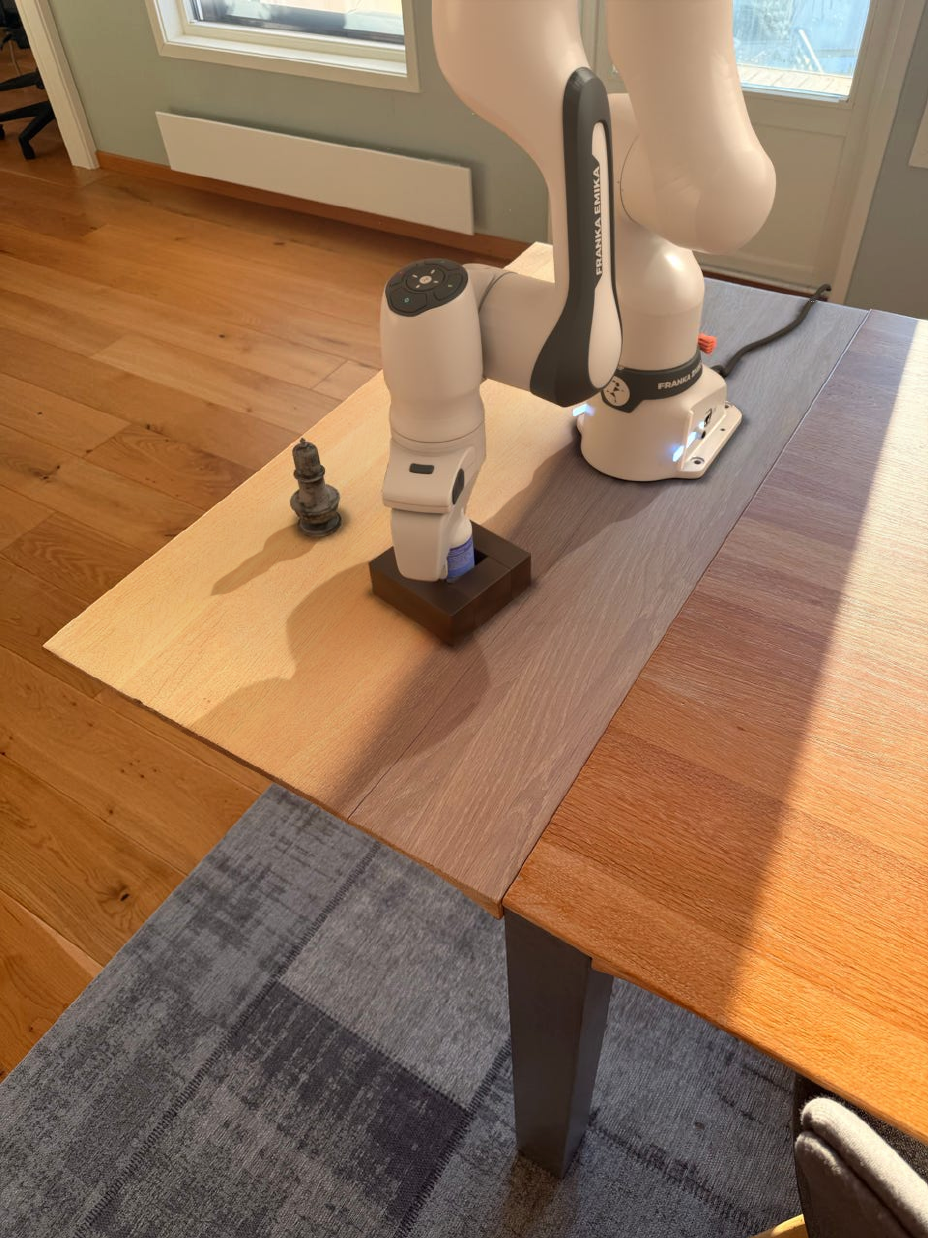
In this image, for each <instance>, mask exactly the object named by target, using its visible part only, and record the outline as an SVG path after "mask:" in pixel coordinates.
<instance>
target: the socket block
mask: <svg viewBox="0 0 928 1238" xmlns="http://www.w3.org/2000/svg"><path fill="white" fill-rule="evenodd" d="M468 519H469V520H470V522H471V526H472V538H473V552H474V566H475V567H474V568H472V569H471V570H470V571H468V572H467V573H466V574H464V575H463V576H462V577H460V578H459V579H458V580H456V581H455V582H454V583H452V584H451V585H449V584H447V583H446V582H444V581H443V580H441V579H438V580H437V581H422V580H415V579H409V578H406V577H404V576H403V575H402V574H401V573H400V571H399V569H398V565H397V560H396V556H395V551H394V546H393V545H392V546H391V547H389V548H387V549H386V550H385V551H383V552H381V553H380V554H379V555H378V556H376V557H375V558H373V559H372V560H370V561H368V562H367V564H368V570H369V577H370V582H371V588H372V593H373V594H374V595H375V596H376V597H378V598H380V599H381V600H382V601H384V602H385V603H387V604H388V605H390V606H391V607H393V608H394V609H396V611H397V610H398V611H399V612H401V613H402V614H404V616H407V617H408V618H409V619H410V620H412V621H414V622H415V623H417V624H418V625H420V626H421V627H423V628H424V629H426V630H427V631H429V632H430V633H432V634H433V635H435V636H436V637H438V638H439V639H441V640H442V641H444V642H445V643H447V644H448V645H450V646H451V647H453V648H454V647H456V646H457V645H458V644H459V643H460V642H461V641H463V640H464V639H465V638H467V637H468V636H469V635H470V634H472V633H473V632H474V631H475V630H476V629H478V628H479V627H480V626H481V625H482V624H484V623H486V621H487V620H489V619H490V618H491V617H493V616H494V615H495V614H496V613H498V612H499V611H500V610H502V609H503V608H504V607H506V605H508V604H509V603H510V602H511V601H512V600H514V599H515V598H517V597H518V596H519V595H520V594H521V593H523V592H524V591H525V590H526V589H527V588H528V587H530V586H531V585H532V553H530V552H529V551H527V550H525V549H523V548H522V547H520V546H518V545H516V544H514V543H513V542H511V541H509V540H507V539H506V538H504V537H502V536H500V535H499V534H497V533H494V532H493V531H492V530H489V529H488V528H486V527H484V526H483V525H480V524H479V523H477V522H475V521H473V520H472V519H470V518H468Z"/></svg>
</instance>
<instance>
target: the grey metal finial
mask: <svg viewBox="0 0 928 1238" xmlns="http://www.w3.org/2000/svg"><path fill="white" fill-rule="evenodd" d="M291 455H292V460H293V464H294V468H295V469H294V470H293V472H292V473H293V478H294V479H295V481H297V485H298V489H297V490H296V491H295V492H293V494H292V495H291V497H290V498H289V506H290V508H291V510H292V511H293V512H294V513H295V514H296V516H297V517H298V520H297V529H298V531H299V533H301V534H302V535H304V536H306V537H311V538H321V537H326V536H330V535H331V534H334V533H335V532H336V531H338V530H339V528H340V527H341V526H342V523H343V518H342V515H341V513H339V512H338V507H339V503H340V500H341V493H340V492H339V489H337V488H336V487H334V486H332V485H330V484H327V483H326V481H325V475H326V468H325V467H324V465H322V464H321V460H320V454H319V449H318V447H317V445H315V444H314V443H312V442H310V441H307V440H306V439H305V438H303V437H301V438H300V440H299V442H298V443H297V444H296V445H294V446H293V448H292V450H291Z"/></svg>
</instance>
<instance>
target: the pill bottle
mask: <svg viewBox="0 0 928 1238" xmlns="http://www.w3.org/2000/svg"><path fill="white" fill-rule="evenodd" d="M469 519H470V518H469V517H468V516H467V515H466V514H465V515H464V510H463V508H462V511H461V520H460V524H459V527H458V529H457V532H456V534H455V537H454V540H453V542H452V545H451V548H450V550H449V553H448V556H447V557H449V560H450V564H449V565H450V569H449V572H448V574H447V577H446V578H445V579H441V580H443V581H444V582H446V583H447V584H449V585H451V584H452V583H454V582H455V581H456V580H458V579H459V578H460V577H462V576H463V575H464V574H466V573H467V572H468V571H470V570H471V569H472V568H474V567H475V566H474V552H473V538H472V526H471V522H470V520H471V519H470V520H469ZM439 579H440V578H439Z"/></svg>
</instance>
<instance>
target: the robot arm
mask: <svg viewBox="0 0 928 1238" xmlns="http://www.w3.org/2000/svg"><path fill="white" fill-rule="evenodd" d="M604 5H605V6H604V9H605V35H606V37H605V38H606V47H607V52H608V55H609V59H610V60H611V63H612V65H613V66H614V69H615V70H616V71H617V74H619V75H618V76H620V78H621V80H622V82H623V83H624V87H625V89H626V91H627V92H616V93H615V92H614V93H608V92H607V87H606V86H605V84H604V82H603V81H602V79H600V78H599V76H598V75H597V74H596V73H595V72H594V71H593V70H592V68H591V67H590V63H589V61H588V58H587V55H586V52H585V48H584V45H583V44H584V43H583V40H582V35H581V28H580V20H579V0H431V28H432V30H431V31H432V32H431V33H432V39H433V41H432V42H433V48H434V52H435V56H436V61H437V64H438V67H439V69H440V71H441V74H442V75H443V77H444V79H445V80H446V82H447V83H448V85H449V87H450V88H451V89H452V91H453V92H454V93H455V95H456V96H457V97H458V98H459V99H460V100H461V102H462V103H464V104H465V106H467V107H468V108H469V109H470V110H471V111H472V112H473V113H475V114H476V115H477V116H479V117H480V118H482V119H483V120H485V122H488V123H489V124H490V125H492V126H493V127H495V128H497V129H498V130H500V131H501V132H502V133H503V134H505V135H506V136H508V137H509V138H510V139H511V140H512V141H513V142H515V143H516V145H518V146H519V147H520V148H521V149H522V150H523V151H524V152H525V153H526V154H527V155H528V156H529V157H530V158H531V159H532V160H533V162H534V163H535V164H536V166H537V167H538V169H539V171H540V173H541V174H542V177H543V178H544V181H545V183H546V187H547V191H548V195H549V203H550V205H549V206H550V220H551V221H550V223H551V238H552V239H551V241H552V243H551V244H552V257H553V258H552V259H553V260H552V261H553V278H554V279H553V280H554V282H551V281H548V280H544V279H540V278H536V277H532V276H528V275H525V274H521V273H518V272H516V271H512V270H508V269H506V268H505V269H504V268H501V267H497V266H493V265H489V264H485V263H473V262H465V263H459V262H457V261H454V260H452V259H447V258H440V257H439V258H437V257H433V258H425V259H420V260H417V261H413V262H411V263H408V264H406V265H405V266H403V267H401V268H400V269H398V270H397V271H396V272H394V273H393V274H392V275H391V276H390V277H389V278H388V280H387V281H386V283H385V285H384V288H383V291H382V295H381V302H380V311H379V347H380V357H381V369H382V375H383V380H384V383H385V386H386V389H387V390H388V392H389V396H390V403H389V409H388V422H389V423H388V424H389V430H390V438H389V456H388V462H387V465H386V471H385V475H384V479H383V483H382V485H381V486H382V487H381V500H382V504H383V506H384V507H387V508H391V509H390V516H389V517H390V518H389V519H390V523H389V525H390V532H391V538H392V539H391V540H392V546H394V551H395V556H396V560H397V565H398V569H399V571H400V573H401V574H402V575H403V576H404V577H406V578H409V579H415V580H422V581H437V580H438V579H439V578H440V579H445V578H446V577H447V574H448V572H449V569H450V565H449V564H450V560H449V557H447V556H448V553H449V550H450V548H451V545H452V542H453V540H454V537H455V534H456V532H457V529H458V527H459V524H460V520H461V511H462V508H463V510H464V515H465V516H466V512H467V506H468V503H469V501H470V497H471V495H472V492H473V489H474V487H475V484H476V482H477V479H478V476H479V474H480V471H481V469H482V466H483V465H484V464H485V461H486V460H487V436H486V433H487V432H486V410H485V405H484V402H483V399H482V396H481V393H480V392H481V391H480V390H481V389H480V388H481V385H482V384H483V383H485V382H486V381H487V380H490V381H494V382H497V383H499V384H503V385H506V386H510V387H512V388H516V389H519V390H522V391H526V392H529V393H530V394H532V396H535V397H538V398H540V399H542V400H545V401H547V402H548V403H551V404H554V405H556V406H558V407H560V408H563V409H564V408H565V409H566V408H570V407H573V406H576V405H578V404H581V403H584V402H585V404H583V405H580V406H578V407H576V408H574V409H573V410H572V411H573V413H572V415H573V416H574V417H576V416H578V417H577V421H576V428H577V429H578V431H579V433H580V435H581V439H580V450H581V451H580V452H581V454H582V456H583V458H584V459H585V460H586V462H587V463H588V464H589V465H590V466H592V467H593V468H594V469H596V470H597V471H599V472H601V473H603V474H605V475H607V476H610V477H614V478H616V479H620V480H621V479H622V480H626V481H634V482H652V481H653V482H654V481H659V480H666V479H672V478H674V479H675V478H676V479H678V478H679V479H699V478H701V477H702V476H703V475H704V474H705V472H706V471H707V470H708V469H709V467H710V465H711V464H712V463H713V462H714V460H715V459H716V458H717V456H718V454H719V453H720V452H721V451H722V449H723V448H724V446H725V445H726V443H727V442H728V441H729V439H730V438H731V437H732V435H733V434H734V432H736V430H737V428H738V427H739V426H740V424H741V422H742V418H743V417H742V416H743V414H742V412H741V411H740V410H739V409H738V408H737V407H736V406H735V405H734V404H732V403H731V402H730V401H728V400H727V393H728V386H727V383H726V380H725V379H724V377H727V376H729V375H730V373H731V372H732V371H733V369H734V368H735V366H736V365H737V363H738V362H739V360H740V359H741V358H742V357H743V356H744V355H746V354H747V353H749V352H751V351H753V350H755V349H758V348H760V347H763V346H765V345H767V344H770V343H772V342H774V341H776V340H778V339H779V338H781V337H783V336H785V335H786V334H788V333H790V332H791V331H792V330H794V329H795V328H797V327H799V325H800V324H801V323H802V322H803V321H804V320H805V319H806V318H807V316H808V314H809V313H810V310H811V308H812V306H813V305H814V303H815V302H817V300H818V299H819V297H820V296H821V295H822V294H823V293H824V292H825V291H826V292H832V290H833V289H832V286H831V284H829V283H823V284H822V285H821V286H820V287H818V288H817V290H815V292H814V293H813V294H812V296H811V297H810V298H809V299H808V300H810V301H808V300H807V301H806V303H805V305H804V306H803V309H802V310H801V313H800V314H799V315H798V317H797V318H796V319H794V320H793V321H792V322H790V323H789V324H788V325H786V326H785V327H783V328H781V329H779V330H778V331H776V332H774V333H772V334H770V335H768V336H765V337H764V338H761V339H759V340H756V341H754V342H751V343H749V344H746V345H745V346H743V347H742V348H741V349H739V350H737V352H736V353H734V355H733V356H732V357H731V359H730V360H729V362H728V364H727V365H726V367H724V366H723V365H721V364H717V365H713V366H711V367H709V366H708V365H706V364H704V363H703V361H702V353H701V352H703V353H704V354H706V355H711V354H712V353H713V352H714V350H715V349H716V347H717V341H718V340H717V338H716V337H715V336H711V335H707V334H705V333H700V328H701V322H702V315H703V307H704V301H705V294H706V285H705V284H706V283H705V278H704V274H703V271H702V269H701V267H700V265H699V263H698V261H697V259H696V258H695V255H694V252H698V253H703V254H707V255H713V256H724V255H728V254H731V253H734V252H736V251H739V250H740V249H741V248H743V247H744V246H745V245H747V243H749V242H750V241H751V240H752V239H753V238H754V237H755V236H756V235H757V234H758V233H759V231H760V230H761V229H762V227H763V226H764V224H765V223H766V222H767V220H768V217H769V215H770V213H771V211H772V208H773V205H774V201H775V197H776V190H777V174H776V169H775V166H774V164H773V161H772V160H771V158H770V157H769V155H768V154H767V153H766V151H765V150H764V148H763V146H762V145H761V142H760V140H759V139H758V136H757V135H756V132H755V130H754V127H753V124H752V122H751V118H750V116H749V113H748V108H747V104H746V102H745V97H744V92H743V89H742V88H743V87H742V84H741V80H740V75H739V71H738V70H739V68H738V65H737V58H736V57H737V56H736V51H735V43H734V26H733V25H734V24H733V23H734V22H733V18H734V0H604ZM811 301H812V302H811ZM813 301H815V302H813Z"/></svg>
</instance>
